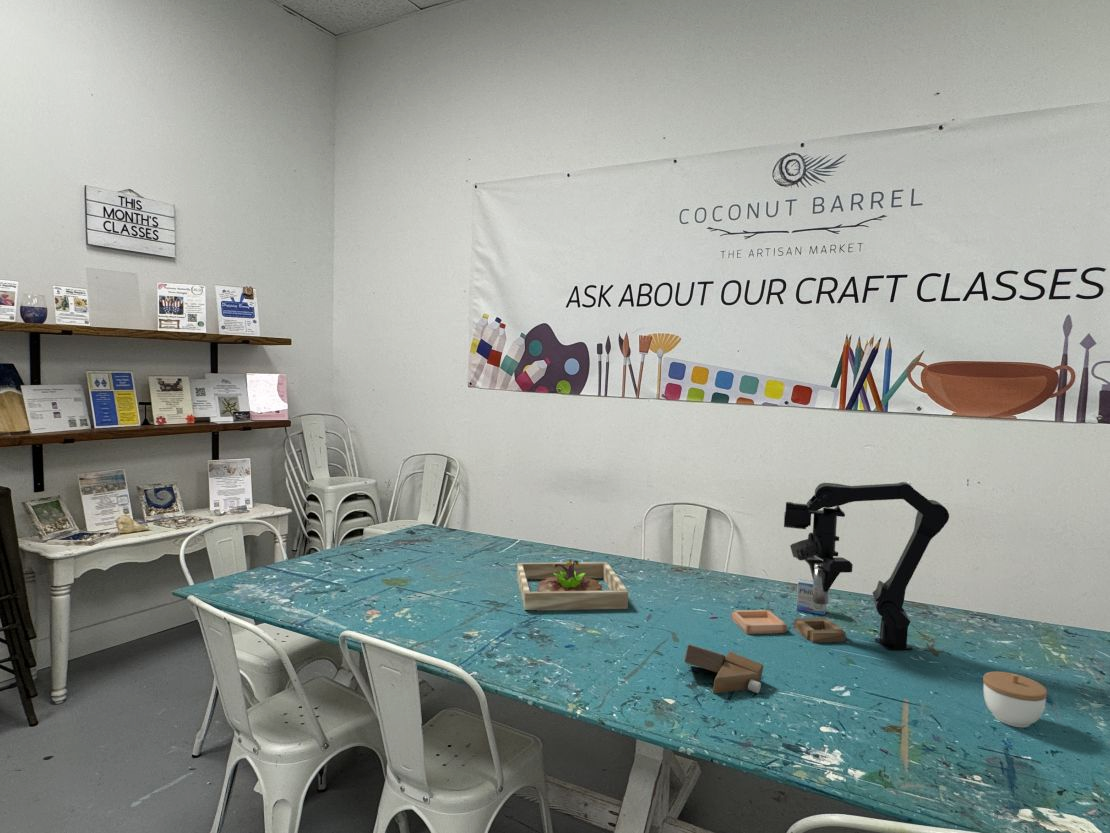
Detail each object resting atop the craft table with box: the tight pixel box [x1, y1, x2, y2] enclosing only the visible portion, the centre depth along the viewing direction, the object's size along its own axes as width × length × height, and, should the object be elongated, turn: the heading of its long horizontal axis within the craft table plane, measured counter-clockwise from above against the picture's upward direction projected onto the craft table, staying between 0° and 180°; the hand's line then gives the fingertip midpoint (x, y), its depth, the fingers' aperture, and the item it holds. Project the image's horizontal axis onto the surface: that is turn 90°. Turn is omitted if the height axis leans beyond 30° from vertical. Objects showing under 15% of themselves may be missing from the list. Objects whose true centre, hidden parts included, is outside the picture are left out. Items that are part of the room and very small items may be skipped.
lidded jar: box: [982, 671, 1048, 728], centre depth 136 cm, size 11×11×9 cm
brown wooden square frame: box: [793, 617, 846, 643], centre depth 179 cm, size 10×10×2 cm
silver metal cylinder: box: [812, 563, 830, 605], centre depth 178 cm, size 4×4×10 cm
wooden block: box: [683, 644, 764, 694], centre depth 150 cm, size 8×13×18 cm
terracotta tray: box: [730, 609, 788, 635], centre depth 184 cm, size 11×11×2 cm
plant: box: [537, 558, 603, 592], centre depth 207 cm, size 20×20×11 cm
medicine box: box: [795, 578, 827, 616], centre depth 196 cm, size 8×4×9 cm, turn 62°
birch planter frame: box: [516, 561, 629, 611], centre depth 207 cm, size 30×30×5 cm
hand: (821, 588), depth 178 cm, fingers closed on silver metal cylinder, 4 cm apart
